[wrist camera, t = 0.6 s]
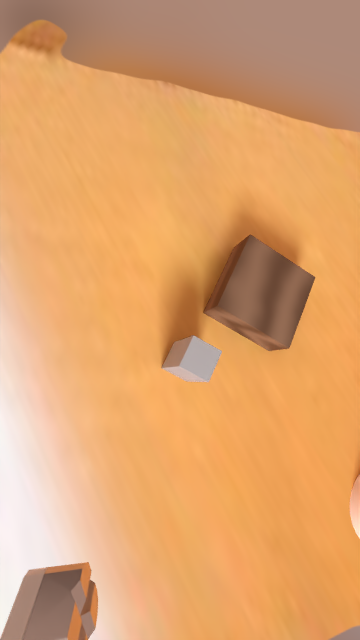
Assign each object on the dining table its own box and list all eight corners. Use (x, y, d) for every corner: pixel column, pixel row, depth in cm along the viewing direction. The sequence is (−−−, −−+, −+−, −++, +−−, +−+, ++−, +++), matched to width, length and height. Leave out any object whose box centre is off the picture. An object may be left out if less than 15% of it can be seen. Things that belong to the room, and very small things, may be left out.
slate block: (161, 368, 44) (179, 366, 37) (173, 342, 45) (193, 335, 38) (186, 381, 45) (208, 382, 37) (198, 355, 46) (222, 351, 39)
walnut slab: (203, 312, 47) (217, 305, 43) (234, 247, 51) (250, 234, 46) (268, 350, 50) (289, 348, 45) (294, 286, 53) (315, 277, 49)
